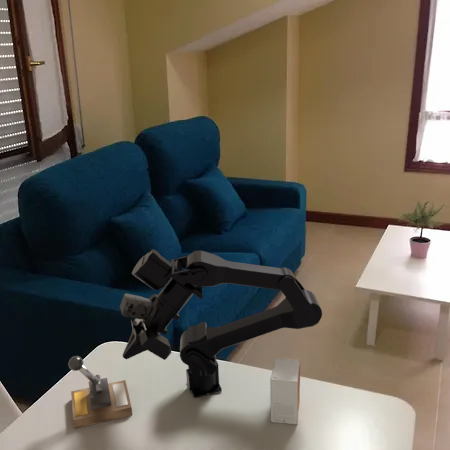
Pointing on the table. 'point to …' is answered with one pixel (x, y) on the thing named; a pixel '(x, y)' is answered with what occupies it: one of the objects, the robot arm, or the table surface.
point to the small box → (285, 391)
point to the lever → (85, 372)
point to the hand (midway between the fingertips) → (124, 357)
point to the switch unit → (100, 403)
